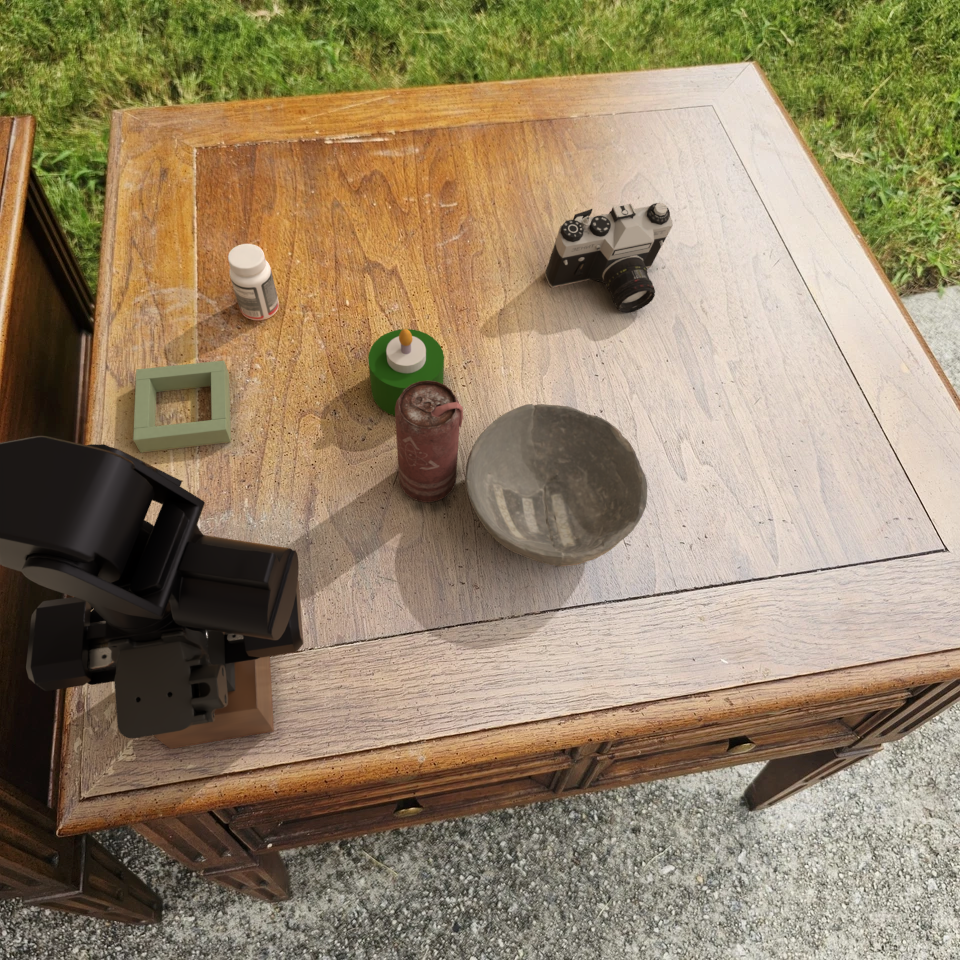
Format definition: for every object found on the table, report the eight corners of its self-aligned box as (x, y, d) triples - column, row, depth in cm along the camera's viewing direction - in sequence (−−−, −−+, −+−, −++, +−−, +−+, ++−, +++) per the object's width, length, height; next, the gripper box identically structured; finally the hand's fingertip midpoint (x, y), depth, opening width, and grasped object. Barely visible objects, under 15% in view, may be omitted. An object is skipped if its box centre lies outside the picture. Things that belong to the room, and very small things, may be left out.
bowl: (447, 454, 87) (449, 412, 80) (599, 430, 90) (613, 387, 83) (484, 605, 78) (490, 571, 71) (651, 572, 81) (672, 537, 74)
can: (462, 500, 84) (468, 426, 72) (402, 507, 83) (398, 433, 71) (453, 453, 87) (458, 373, 75) (396, 459, 86) (391, 380, 74)
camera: (567, 331, 99) (586, 285, 89) (539, 260, 102) (554, 208, 93) (671, 308, 102) (701, 261, 92) (641, 240, 105) (666, 188, 96)
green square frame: (231, 442, 86) (226, 429, 84) (140, 453, 85) (132, 440, 82) (229, 374, 91) (224, 360, 89) (142, 383, 89) (135, 369, 87)
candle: (433, 355, 94) (434, 295, 85) (451, 410, 90) (453, 353, 81) (364, 367, 92) (358, 307, 84) (379, 424, 88) (374, 367, 80)
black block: (164, 702, 64) (151, 690, 61) (165, 636, 66) (153, 621, 63) (235, 691, 64) (226, 678, 61) (233, 626, 67) (224, 611, 64)
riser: (169, 749, 69) (141, 727, 63) (171, 651, 74) (145, 620, 67) (274, 731, 71) (257, 708, 64) (269, 636, 75) (253, 604, 68)
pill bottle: (269, 287, 98) (257, 235, 91) (285, 312, 96) (274, 261, 89) (233, 301, 96) (217, 249, 89) (249, 327, 94) (234, 275, 87)
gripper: (-30, 736, 46) (72, 784, 60) (292, 684, 49) (320, 741, 63) (-7, 565, 52) (82, 644, 65) (281, 527, 55) (310, 610, 68)
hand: (198, 662), depth 65 cm, fingers closed on black block, 5 cm apart
